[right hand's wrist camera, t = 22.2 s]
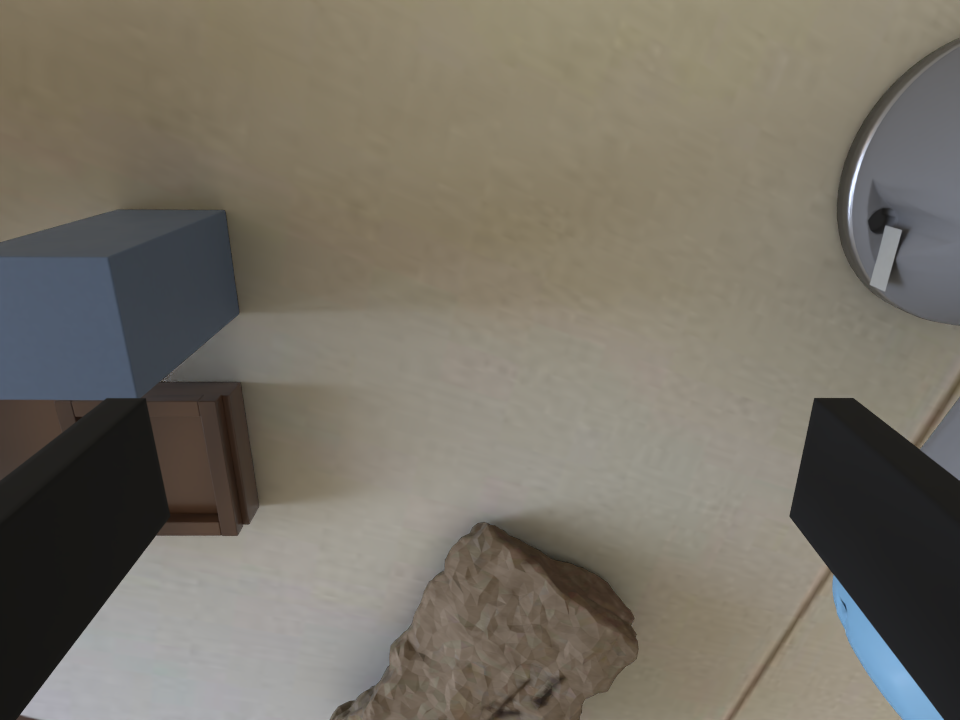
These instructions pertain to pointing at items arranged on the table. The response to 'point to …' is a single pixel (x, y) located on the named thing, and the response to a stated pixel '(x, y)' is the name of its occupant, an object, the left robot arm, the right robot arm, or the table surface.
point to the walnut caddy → (164, 450)
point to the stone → (502, 639)
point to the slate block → (111, 302)
